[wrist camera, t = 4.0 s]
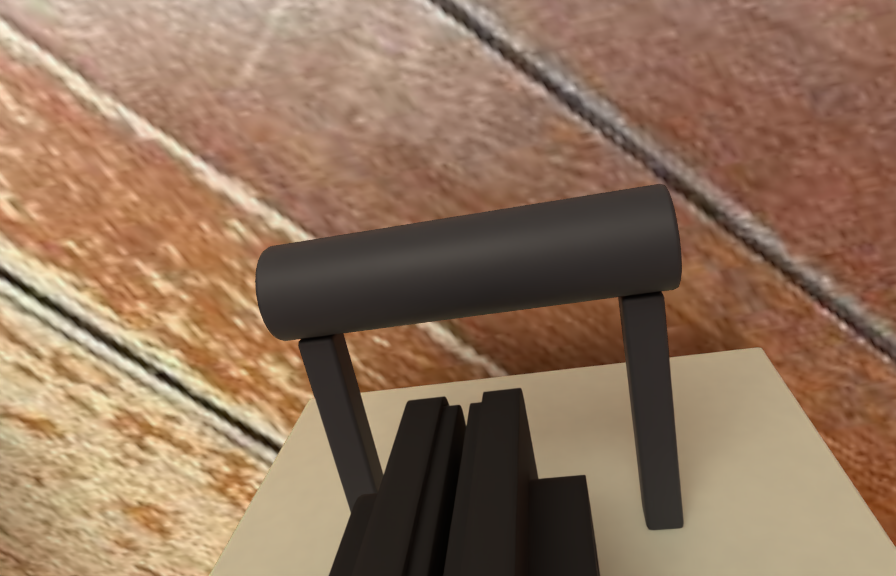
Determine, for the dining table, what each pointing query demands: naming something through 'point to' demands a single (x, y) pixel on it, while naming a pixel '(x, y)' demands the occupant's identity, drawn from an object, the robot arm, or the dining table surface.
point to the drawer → (556, 399)
